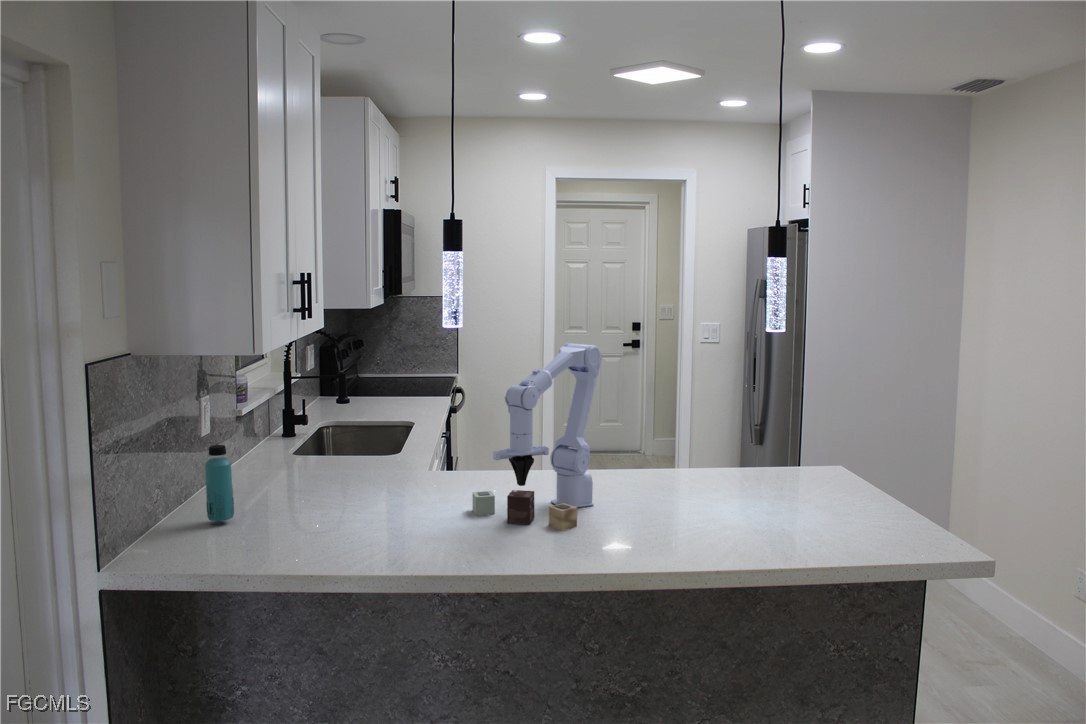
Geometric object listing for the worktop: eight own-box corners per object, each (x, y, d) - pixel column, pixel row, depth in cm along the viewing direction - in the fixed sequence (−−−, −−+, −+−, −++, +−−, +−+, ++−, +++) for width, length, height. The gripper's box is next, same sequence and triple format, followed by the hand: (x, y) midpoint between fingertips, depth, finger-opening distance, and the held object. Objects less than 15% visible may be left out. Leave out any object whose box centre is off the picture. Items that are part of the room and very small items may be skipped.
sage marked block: (490, 509, 230) (490, 490, 229) (494, 514, 225) (494, 495, 224) (472, 510, 228) (472, 491, 228) (476, 515, 223) (475, 496, 223)
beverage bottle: (240, 520, 218) (237, 443, 215) (222, 528, 212) (219, 449, 209) (219, 518, 220) (215, 441, 217) (201, 525, 214) (197, 447, 211)
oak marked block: (563, 522, 219) (563, 502, 218) (576, 526, 215) (577, 506, 214) (548, 525, 216) (549, 505, 215) (561, 530, 212) (562, 510, 211)
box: (529, 525, 216) (530, 497, 215) (506, 524, 217) (506, 495, 216) (534, 518, 222) (535, 490, 221) (512, 516, 223) (512, 489, 222)
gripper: (540, 427, 223) (540, 478, 225) (488, 431, 217) (488, 484, 219) (552, 432, 217) (552, 484, 218) (499, 437, 210) (499, 491, 212)
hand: (521, 484), depth 218 cm, fingers closed
